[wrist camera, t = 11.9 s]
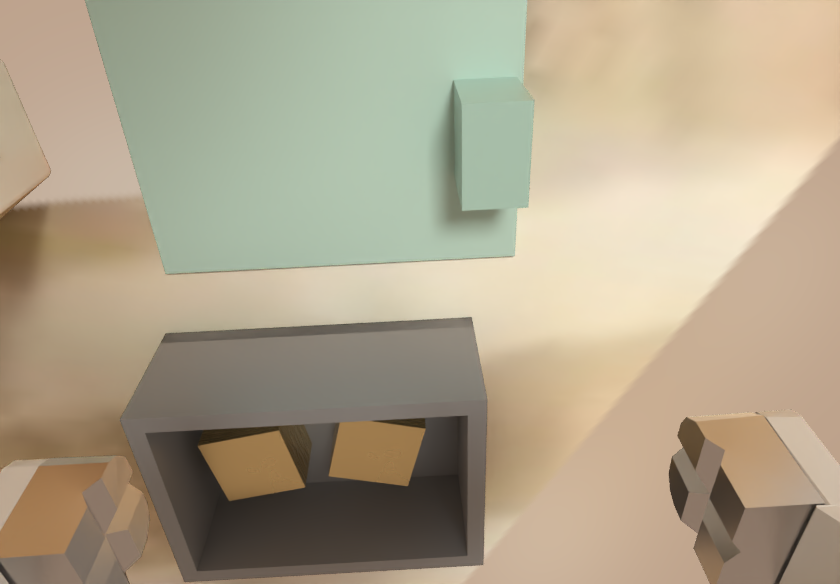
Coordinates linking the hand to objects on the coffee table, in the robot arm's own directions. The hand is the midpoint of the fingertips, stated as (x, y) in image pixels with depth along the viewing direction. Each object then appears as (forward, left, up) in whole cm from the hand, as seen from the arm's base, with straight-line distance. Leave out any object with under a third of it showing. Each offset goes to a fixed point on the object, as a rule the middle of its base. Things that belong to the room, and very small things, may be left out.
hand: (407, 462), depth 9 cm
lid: (+1, -3, -19) cm, 19 cm away
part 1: (+16, -8, -18) cm, 25 cm away
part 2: (+15, -2, -18) cm, 24 cm away
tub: (+16, -4, -19) cm, 25 cm away
